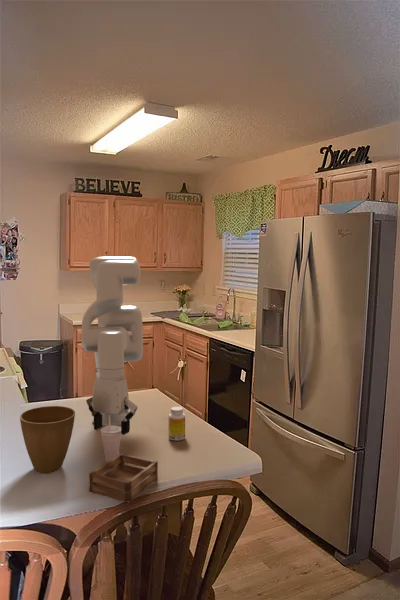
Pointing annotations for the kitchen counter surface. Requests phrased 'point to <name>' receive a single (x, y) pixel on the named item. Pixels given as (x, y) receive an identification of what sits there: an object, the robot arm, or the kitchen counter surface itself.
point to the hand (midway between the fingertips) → (111, 430)
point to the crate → (123, 477)
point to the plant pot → (47, 436)
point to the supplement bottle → (176, 424)
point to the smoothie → (111, 440)
